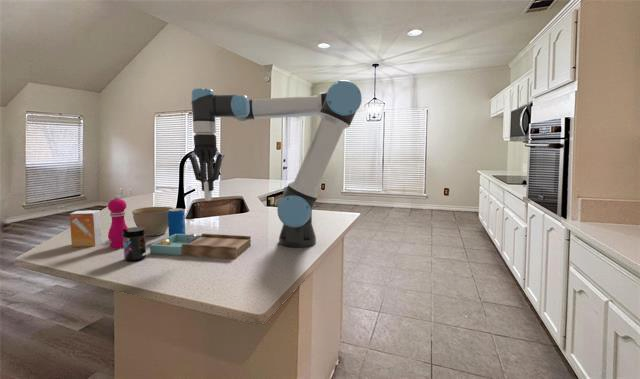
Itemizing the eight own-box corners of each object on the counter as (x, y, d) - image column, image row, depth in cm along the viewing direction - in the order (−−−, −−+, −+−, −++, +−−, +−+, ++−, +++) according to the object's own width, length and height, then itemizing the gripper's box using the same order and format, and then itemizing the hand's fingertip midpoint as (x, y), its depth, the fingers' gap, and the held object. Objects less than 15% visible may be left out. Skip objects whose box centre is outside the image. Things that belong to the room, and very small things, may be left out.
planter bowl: (181, 232, 148) (180, 208, 146) (146, 240, 134) (145, 214, 133) (161, 227, 156) (160, 204, 155) (126, 234, 143) (124, 210, 141)
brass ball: (161, 238, 122) (164, 248, 123) (155, 241, 119) (158, 252, 119) (171, 236, 122) (174, 246, 123) (165, 240, 118) (168, 251, 119)
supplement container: (129, 256, 115) (127, 227, 114) (149, 255, 116) (147, 226, 115) (120, 262, 109) (118, 232, 107) (142, 261, 110) (140, 231, 108)
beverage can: (179, 239, 136) (178, 211, 135) (165, 238, 137) (164, 210, 136) (188, 235, 142) (187, 208, 141) (175, 234, 144) (174, 207, 142)
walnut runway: (250, 245, 129) (250, 236, 128) (235, 258, 114) (235, 247, 113) (202, 243, 131) (202, 233, 131) (182, 255, 117) (181, 244, 116)
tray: (203, 242, 132) (203, 235, 132) (181, 255, 116) (181, 247, 116) (175, 241, 134) (175, 233, 133) (150, 253, 118) (149, 245, 117)
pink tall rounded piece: (134, 245, 128) (131, 194, 125) (116, 250, 121) (113, 196, 119) (122, 242, 131) (119, 193, 128) (104, 247, 124) (100, 195, 122)
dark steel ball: (196, 230, 130) (188, 236, 130) (190, 233, 126) (183, 239, 126) (202, 239, 130) (194, 244, 130) (196, 241, 126) (189, 247, 126)
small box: (71, 247, 124) (68, 213, 122) (79, 242, 130) (77, 210, 128) (95, 246, 126) (93, 213, 124) (102, 241, 132) (100, 209, 130)
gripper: (226, 134, 119) (229, 198, 122) (192, 134, 121) (196, 198, 124) (218, 133, 112) (221, 201, 115) (181, 134, 113) (186, 201, 116)
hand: (208, 199), depth 119 cm, fingers closed
